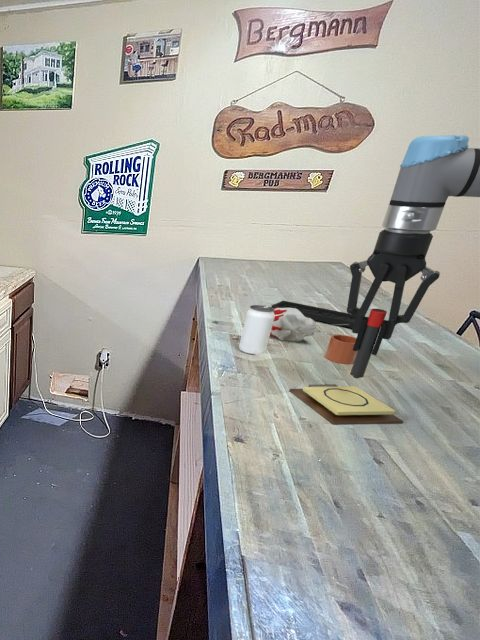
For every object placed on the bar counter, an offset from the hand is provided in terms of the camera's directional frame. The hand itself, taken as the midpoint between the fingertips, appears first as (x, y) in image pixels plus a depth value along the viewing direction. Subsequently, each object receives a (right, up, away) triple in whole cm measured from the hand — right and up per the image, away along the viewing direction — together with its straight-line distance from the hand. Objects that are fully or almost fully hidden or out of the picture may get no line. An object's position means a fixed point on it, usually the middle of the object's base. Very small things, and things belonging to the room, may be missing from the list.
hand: (365, 350), depth 92 cm
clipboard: (-2, -12, +4) cm, 12 cm away
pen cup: (+14, -2, +25) cm, 29 cm away
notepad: (-2, -11, +3) cm, 11 cm away
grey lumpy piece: (+7, +5, +41) cm, 42 cm away
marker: (0, -5, +2) cm, 6 cm away
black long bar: (+28, +11, +55) cm, 63 cm away
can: (-6, 0, +31) cm, 32 cm away
